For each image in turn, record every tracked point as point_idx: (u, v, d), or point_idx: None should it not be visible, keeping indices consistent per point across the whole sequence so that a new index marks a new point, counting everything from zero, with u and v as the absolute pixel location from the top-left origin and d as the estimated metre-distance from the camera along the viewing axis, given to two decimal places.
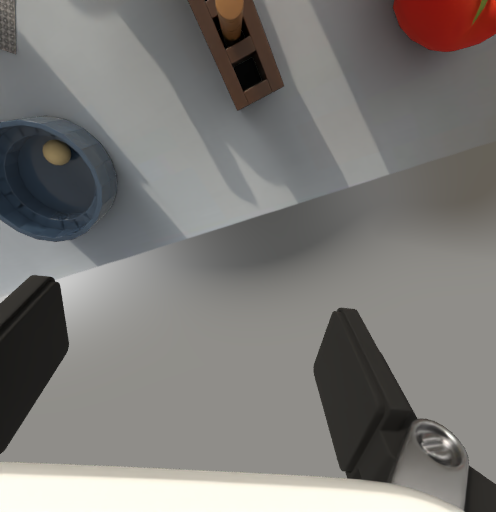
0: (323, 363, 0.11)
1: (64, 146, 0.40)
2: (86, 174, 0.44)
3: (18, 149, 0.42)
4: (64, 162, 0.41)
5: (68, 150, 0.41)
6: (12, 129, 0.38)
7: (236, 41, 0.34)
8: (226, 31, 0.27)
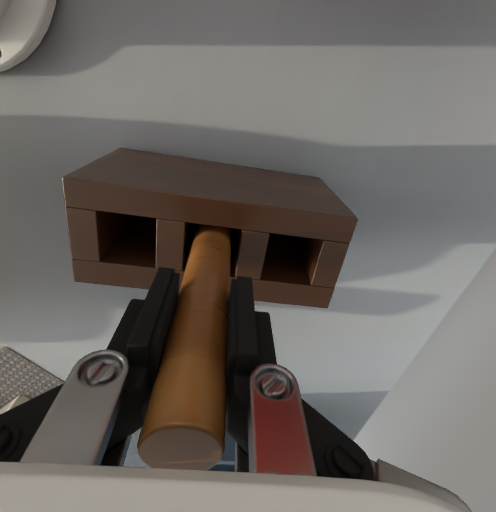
0: None
1: None
2: None
3: None
4: None
5: None
6: None
7: None
8: None
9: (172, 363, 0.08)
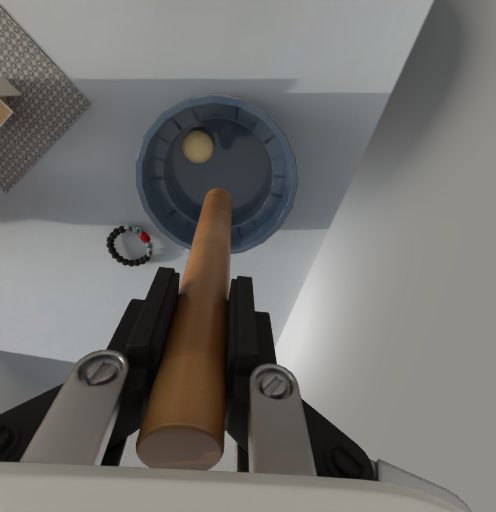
0: None
1: (197, 130, 0.31)
2: (236, 143, 0.33)
3: (171, 186, 0.35)
4: (211, 146, 0.31)
5: None
6: (150, 165, 0.31)
7: None
8: None
9: (171, 363, 0.08)
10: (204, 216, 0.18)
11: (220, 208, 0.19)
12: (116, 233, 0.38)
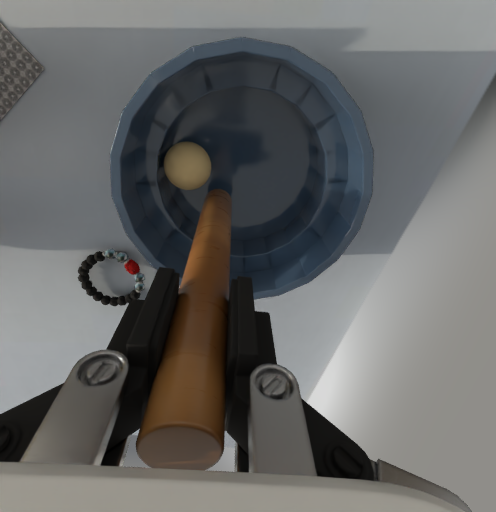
0: None
1: (210, 162, 0.21)
2: (268, 129, 0.22)
3: (170, 195, 0.24)
4: (192, 185, 0.21)
5: (210, 171, 0.21)
6: (137, 163, 0.20)
7: None
8: None
9: (171, 362, 0.08)
10: (204, 217, 0.18)
11: (219, 209, 0.19)
12: (91, 262, 0.26)
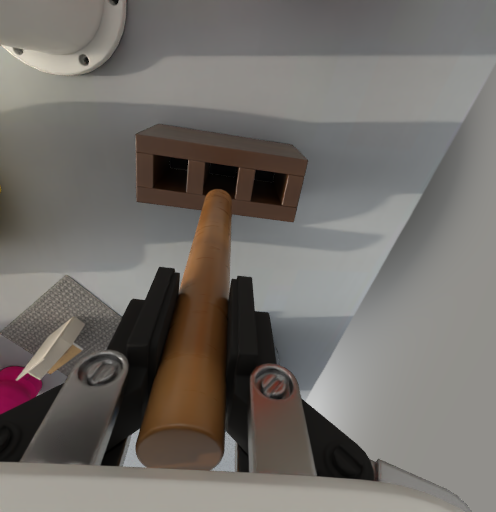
0: None
1: None
2: None
3: None
4: None
5: None
6: None
7: None
8: None
9: (170, 364, 0.08)
10: (204, 217, 0.18)
11: (219, 209, 0.19)
12: None
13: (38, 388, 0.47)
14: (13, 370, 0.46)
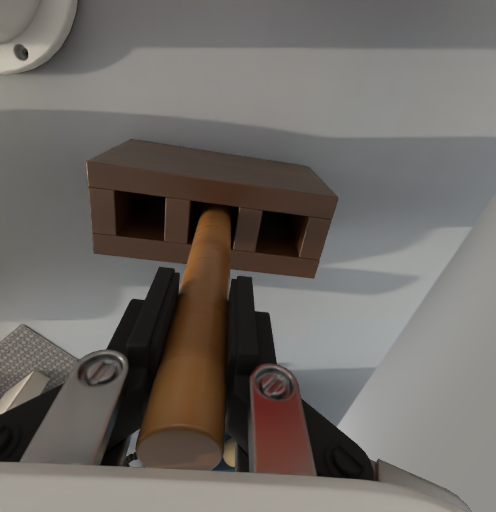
0: None
1: None
2: None
3: None
4: None
5: None
6: None
7: None
8: None
9: (170, 364, 0.08)
10: (204, 217, 0.18)
11: (219, 209, 0.19)
12: (130, 460, 0.42)
13: None
14: None
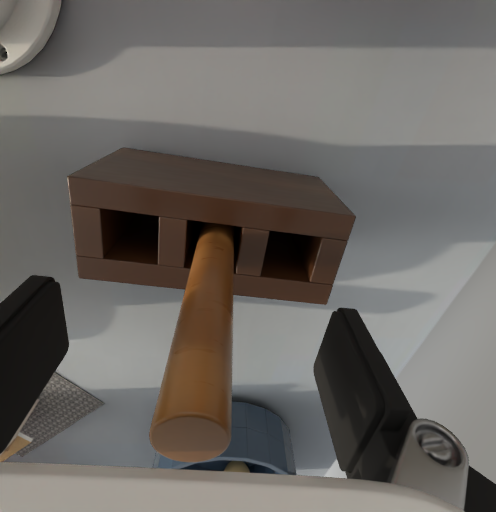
0: (323, 363, 0.11)
1: None
2: None
3: None
4: None
5: None
6: None
7: None
8: None
9: (180, 358, 0.09)
10: None
11: None
12: None
13: None
14: None
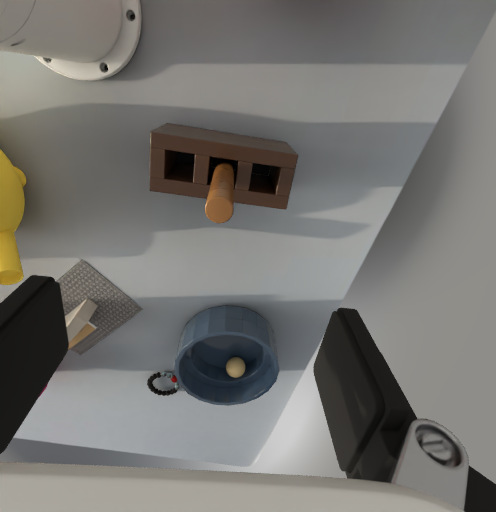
0: (323, 363, 0.11)
1: (238, 364, 0.50)
2: None
3: (194, 353, 0.51)
4: (227, 366, 0.50)
5: (235, 367, 0.50)
6: None
7: None
8: None
9: (214, 190, 0.23)
10: (219, 160, 0.32)
11: None
12: (155, 378, 0.54)
13: None
14: None
